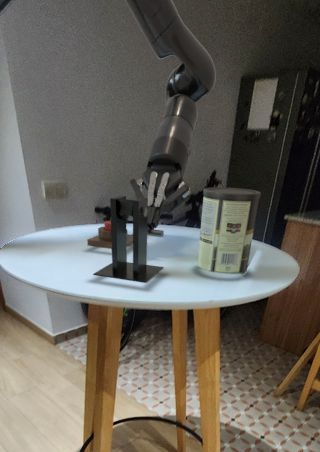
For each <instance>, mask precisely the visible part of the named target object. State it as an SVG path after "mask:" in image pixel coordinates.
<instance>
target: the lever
mask: <svg viewBox="0 0 320 452" xmlns="http://www.w3.org/2000/svg"><path fill="white" fill-rule="evenodd" d="M133 200H134V199H128V198H126V199H122V201H121V207H120V215H121V216H122V217H123V218H124V219H125V220H126V221H129V222H133ZM164 232H165V231H164V230H162V229H155V228H154V229H150V228H149V227H148V225H147V237H156V238H164V234H165V233H164Z"/></svg>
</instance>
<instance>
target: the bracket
mask: <svg viewBox="0 0 320 452" xmlns="http://www.w3.org/2000/svg"><path fill="white" fill-rule="evenodd" d="M109 199H110V200H109V202H110V203H109V204H110V205H109V206H110V221H111V239H112V249H111V263H109V264H107V265H106V266H104V267H102V268H101V269H99V270H96V272H94V273H92V275H93V276H97V277H98V276H99V277H103V278H110V279H116V280H123V281H130V282H137V283H141V284H142V283H143V284H147V283H148V282H149V281H150V280H151V279H152V278H154V277H155V276H157V274H159V273H160V272H161V271H162V270H163V269H164V266H158V265H152V264H148V263H147V262H148V261H147V260H148V236H147V220H148V197H144V198H140V199H132V200H133V221H132V235H133V243H132V262H131V261H128V257H127V256H128V255H127V254H128V253H127V251H128V250H127V247H128V246H127V238H126V229H127V220H125V219H124V218H123V217H122V216H121V215H120V207H121V201H122V199H127V196H126V195H118V196H113V197H110V198H109Z"/></svg>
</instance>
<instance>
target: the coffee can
mask: <svg viewBox="0 0 320 452" xmlns="http://www.w3.org/2000/svg"><path fill="white" fill-rule="evenodd" d="M261 196H262V192H261V191H259V190H254V189H250V188H249V189H248V188H239V187H218V186H215V187H214V186H213V187H205V188H203V198H202V208H201V209H202V210H201V219H200V230H199V231H200V232H199V242H198V251H197V262H196V266H197V267H198V268H200V269H202V270H204V271H208V272H212V273H218V274H240V273H243V272H244V273H243V275H242V277H244V276H246V275H247V272H248V265H249V259H250V254H251V248H252V243H253V236H254V232H255V231H254V230H255V225H256V220H257V214H258V209H259V202H260V198H261Z"/></svg>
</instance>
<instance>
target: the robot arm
mask: <svg viewBox="0 0 320 452" xmlns="http://www.w3.org/2000/svg"><path fill="white" fill-rule="evenodd" d="M14 1H15V0H0V17H1V16H2V15H3V14H4V13H5V12H6V11H7V10H8V8H10V7H11V5H12V4H13V3H14ZM124 2H125V4H126V6H127V8H128V10H129V11H130V13H131V14H132V17H133V18H134V20H135V22H136V24H137V25H138V27H139V29H140V31H141V33H142V35H143V36H144V38H145V40H146V42H147V43H148V45H149V47H150V49H151V51H152V52H153V54H154V56H155V57H156V58H157V59H158V60H165V59H167V58H168V57H171V56H174V57H175V58H177V60H179V61H180V62H181V63H180V64H178V65H177V66H176V67H174V69H173V70H172V71H171V72H170V74H169V76H168V78H167V80H166V81H165V87H164V110H163V114H162V117H161V120H160V124H159V126H158V128H157V131H156V133H155V137H154V139H153V143H152V146H151V150H150V154H149V157H148V161H147V165H146V169H145V171H144V172H142V175H141V177H140V178H139V179H135V178H131V179H130V180H129V184H130V187H131V190H132V193H133V194H134V197H135V198H136V199H135V200H137V199H140V198H145V197H144V194H143V191H144V188H145V190H146V192H147V198H148V220H147V225H148V227H149V228H150V229H154V230H155V229H157V227H158V226H159V223H160V219H161V215H162V214H163V213H166V214H171V213H172V212H173V211H174V210H176V209H177V208H178V207H180V205H182V204H183V203H184V202H185V201H187V200H188V199H189V198H190V197H191V195H192V194H191V187H190V183H187V182H184V175H185V171H186V168H187V164H188V160H189V157H190V156H191V152H192V151H191V150H192V147H193V138H194V135H195V130H196V127H197V123H198V119H199V109H198V105H197V102H199V101H200V100H201V99H203V98H204V97H205V96H208V95H209V93H211V91H213V89H214V87H215V86H216V81H217V70H216V66H215V62H214V60H213V58H212V57H211V55H210V53H209V52H208V50H207V49H206V47H204V46H203V44H202V43H200V41H199V40H198V39H197V37H195V35H194V34H193V33H192V32H191V30H190V29H189V28H188V27H187V26H186V24H185V23H184V21H183V19H182V18H181V16H180V14H179V11H178V9H177V7H176V5H175V3H174V1H173V0H124Z"/></svg>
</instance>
